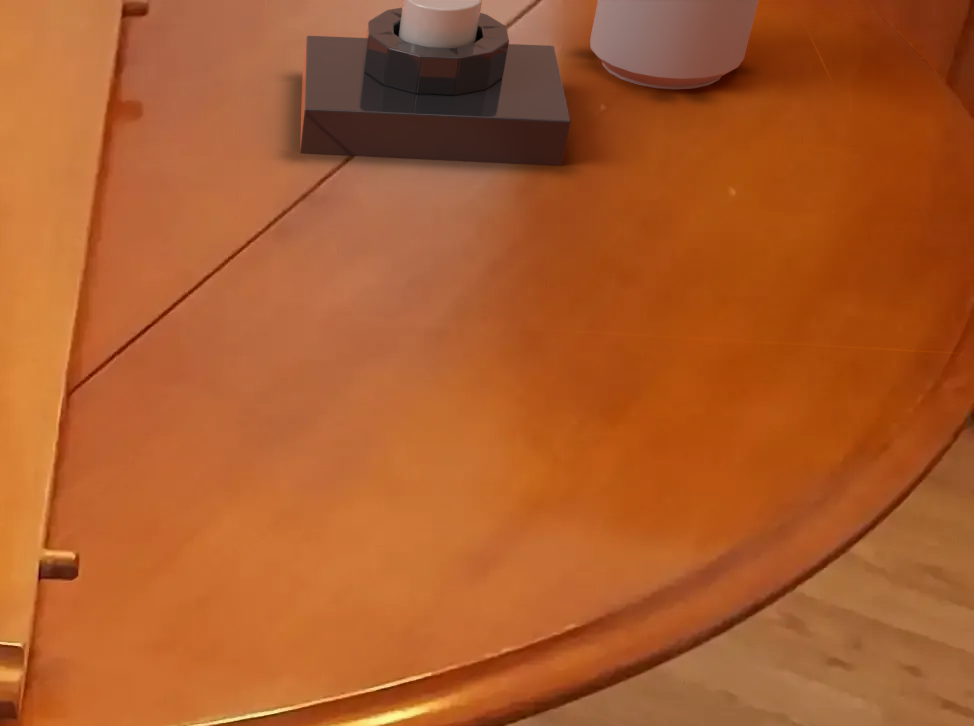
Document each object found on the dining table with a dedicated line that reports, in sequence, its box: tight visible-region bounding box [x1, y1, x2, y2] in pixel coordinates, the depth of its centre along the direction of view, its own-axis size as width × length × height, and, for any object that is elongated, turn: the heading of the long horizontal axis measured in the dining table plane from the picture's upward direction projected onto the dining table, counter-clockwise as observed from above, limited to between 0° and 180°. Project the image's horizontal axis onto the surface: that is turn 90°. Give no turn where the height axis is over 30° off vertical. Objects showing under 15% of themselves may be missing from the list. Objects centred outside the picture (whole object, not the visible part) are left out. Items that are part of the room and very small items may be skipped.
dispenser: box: [299, 7, 571, 167], centre depth 93 cm, size 12×9×4 cm
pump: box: [399, 0, 483, 48], centre depth 92 cm, size 4×4×2 cm
